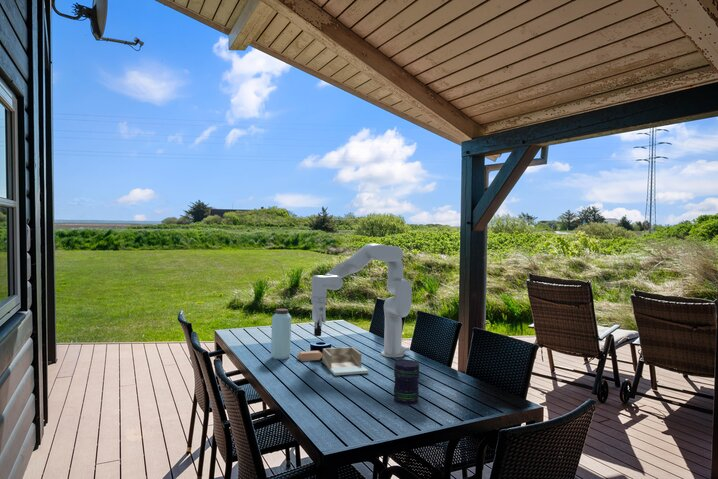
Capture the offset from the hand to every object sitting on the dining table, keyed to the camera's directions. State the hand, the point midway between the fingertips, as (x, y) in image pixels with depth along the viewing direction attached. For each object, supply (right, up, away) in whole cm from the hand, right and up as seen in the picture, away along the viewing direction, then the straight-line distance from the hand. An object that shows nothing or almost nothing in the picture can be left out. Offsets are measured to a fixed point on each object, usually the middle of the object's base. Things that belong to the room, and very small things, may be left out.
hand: (317, 335), depth 227 cm
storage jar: (+39, -15, -51) cm, 66 cm away
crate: (+12, -14, -4) cm, 19 cm away
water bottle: (-20, -13, +7) cm, 25 cm away
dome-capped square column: (-5, -13, +5) cm, 15 cm away
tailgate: (+15, -13, -12) cm, 23 cm away
